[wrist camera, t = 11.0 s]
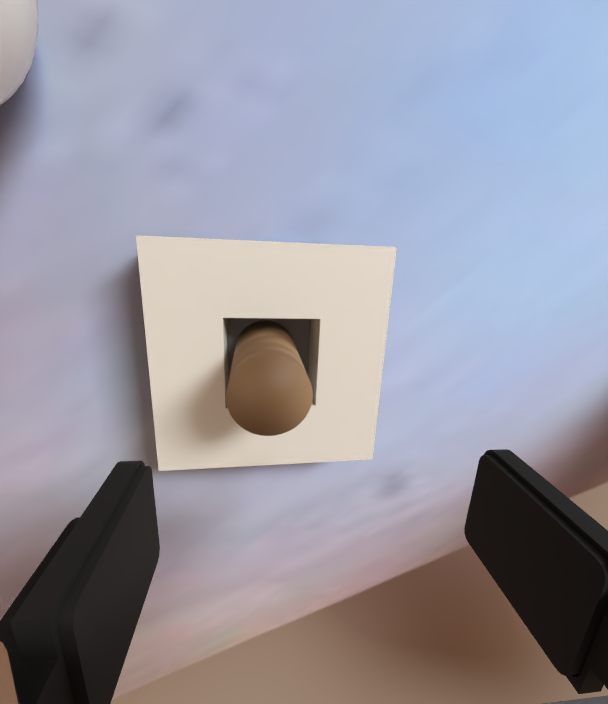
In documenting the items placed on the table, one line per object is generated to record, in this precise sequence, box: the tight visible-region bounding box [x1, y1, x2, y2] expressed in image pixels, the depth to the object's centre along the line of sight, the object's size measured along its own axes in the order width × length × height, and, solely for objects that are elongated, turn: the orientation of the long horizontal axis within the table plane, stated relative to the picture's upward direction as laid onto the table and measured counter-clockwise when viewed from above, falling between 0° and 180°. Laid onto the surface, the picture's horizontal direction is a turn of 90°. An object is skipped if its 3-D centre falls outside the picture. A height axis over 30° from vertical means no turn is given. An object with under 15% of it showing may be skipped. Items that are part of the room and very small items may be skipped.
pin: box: [226, 320, 313, 436], centre depth 20 cm, size 4×4×8 cm
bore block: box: [136, 236, 397, 471], centre depth 22 cm, size 14×14×4 cm
